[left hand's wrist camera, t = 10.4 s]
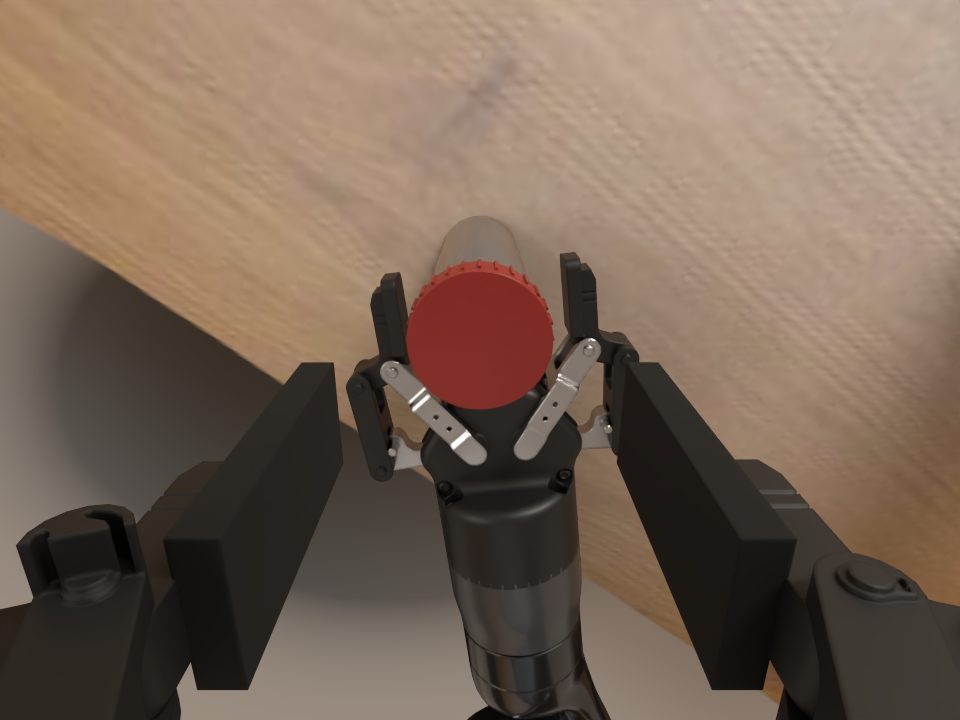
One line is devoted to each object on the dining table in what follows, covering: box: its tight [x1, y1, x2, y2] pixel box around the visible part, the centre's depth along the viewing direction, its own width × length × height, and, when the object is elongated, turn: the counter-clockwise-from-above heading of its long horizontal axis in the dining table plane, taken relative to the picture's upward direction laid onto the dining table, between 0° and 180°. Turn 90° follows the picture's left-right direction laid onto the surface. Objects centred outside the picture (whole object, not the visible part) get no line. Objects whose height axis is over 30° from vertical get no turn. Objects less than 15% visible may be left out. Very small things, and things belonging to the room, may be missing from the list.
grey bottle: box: [431, 216, 529, 281], centre depth 27 cm, size 4×4×15 cm
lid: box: [406, 259, 554, 410], centre depth 20 cm, size 5×5×2 cm
